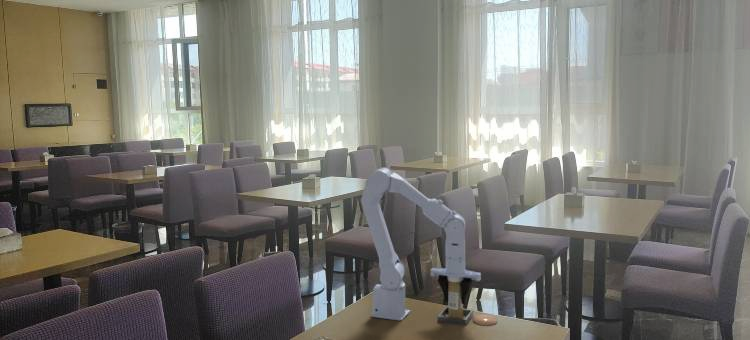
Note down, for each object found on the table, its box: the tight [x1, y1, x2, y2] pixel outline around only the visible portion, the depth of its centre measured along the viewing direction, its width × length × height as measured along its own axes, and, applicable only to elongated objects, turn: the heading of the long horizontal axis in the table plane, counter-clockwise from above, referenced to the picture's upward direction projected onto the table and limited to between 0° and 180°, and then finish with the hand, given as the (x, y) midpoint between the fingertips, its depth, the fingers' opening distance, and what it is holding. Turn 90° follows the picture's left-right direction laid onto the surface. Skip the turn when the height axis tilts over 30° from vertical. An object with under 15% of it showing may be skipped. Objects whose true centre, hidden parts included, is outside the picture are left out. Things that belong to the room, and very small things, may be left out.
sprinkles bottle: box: [447, 276, 464, 319], centre depth 168 cm, size 5×5×14 cm
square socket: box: [437, 306, 474, 326], centre depth 169 cm, size 8×8×2 cm
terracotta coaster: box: [472, 314, 498, 326], centre depth 166 cm, size 7×7×1 cm
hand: (455, 301), depth 168 cm, fingers closed on sprinkles bottle, 4 cm apart
